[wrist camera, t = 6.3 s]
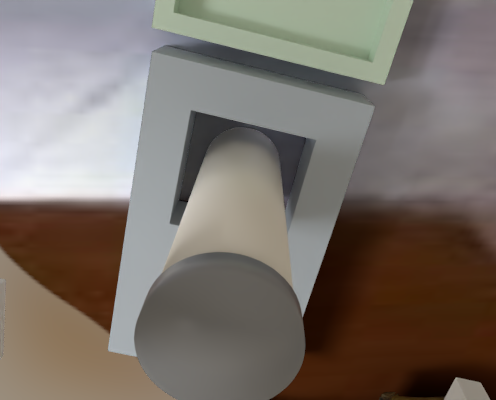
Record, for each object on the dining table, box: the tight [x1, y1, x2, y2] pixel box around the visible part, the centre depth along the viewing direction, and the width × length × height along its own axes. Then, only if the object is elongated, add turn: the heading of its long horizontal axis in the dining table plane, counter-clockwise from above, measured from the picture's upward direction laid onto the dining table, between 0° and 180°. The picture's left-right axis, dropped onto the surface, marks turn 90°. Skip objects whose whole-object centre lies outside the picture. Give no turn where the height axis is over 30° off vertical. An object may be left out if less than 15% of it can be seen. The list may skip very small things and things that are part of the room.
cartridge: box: [134, 127, 305, 400], centre depth 22 cm, size 5×5×17 cm
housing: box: [108, 46, 375, 357], centre depth 30 cm, size 12×20×4 cm, turn 167°
